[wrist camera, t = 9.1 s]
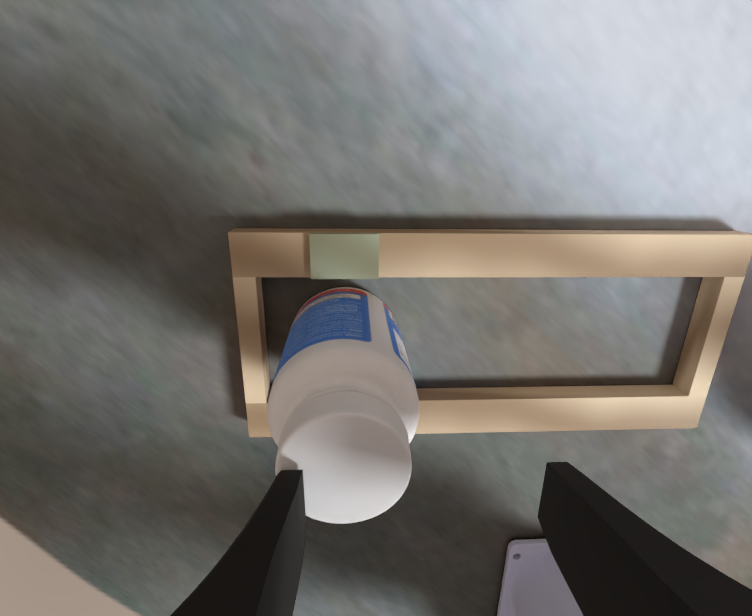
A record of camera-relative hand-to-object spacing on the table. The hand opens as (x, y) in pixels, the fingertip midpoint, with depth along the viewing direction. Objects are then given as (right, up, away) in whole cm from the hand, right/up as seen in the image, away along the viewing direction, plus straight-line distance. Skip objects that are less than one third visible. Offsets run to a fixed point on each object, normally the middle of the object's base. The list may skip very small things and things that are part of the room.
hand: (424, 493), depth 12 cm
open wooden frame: (+4, +4, +9) cm, 11 cm away
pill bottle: (-3, +4, +9) cm, 10 cm away
